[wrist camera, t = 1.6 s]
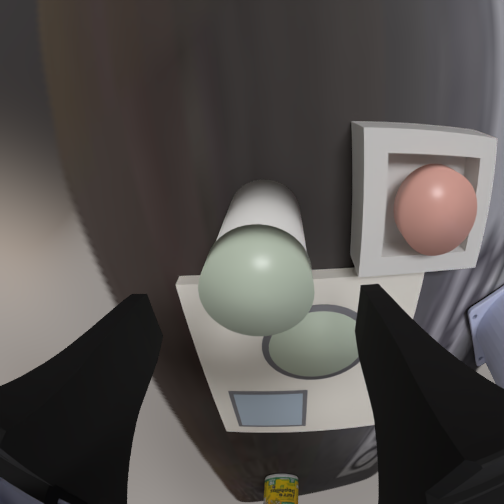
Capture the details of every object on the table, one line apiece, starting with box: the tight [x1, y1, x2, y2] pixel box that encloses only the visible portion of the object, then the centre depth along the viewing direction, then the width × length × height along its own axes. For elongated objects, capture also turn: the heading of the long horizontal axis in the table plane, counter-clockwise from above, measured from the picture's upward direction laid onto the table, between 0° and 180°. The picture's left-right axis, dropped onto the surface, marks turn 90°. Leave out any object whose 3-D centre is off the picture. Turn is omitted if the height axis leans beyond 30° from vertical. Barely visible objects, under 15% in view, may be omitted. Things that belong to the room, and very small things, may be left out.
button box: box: [350, 121, 497, 277], centre depth 15 cm, size 8×8×2 cm
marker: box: [198, 179, 315, 336], centre depth 14 cm, size 4×4×8 cm
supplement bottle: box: [264, 473, 298, 504], centre depth 35 cm, size 5×5×10 cm
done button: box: [394, 164, 477, 256], centre depth 13 cm, size 5×5×1 cm
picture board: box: [176, 267, 425, 432], centre depth 24 cm, size 20×16×1 cm
